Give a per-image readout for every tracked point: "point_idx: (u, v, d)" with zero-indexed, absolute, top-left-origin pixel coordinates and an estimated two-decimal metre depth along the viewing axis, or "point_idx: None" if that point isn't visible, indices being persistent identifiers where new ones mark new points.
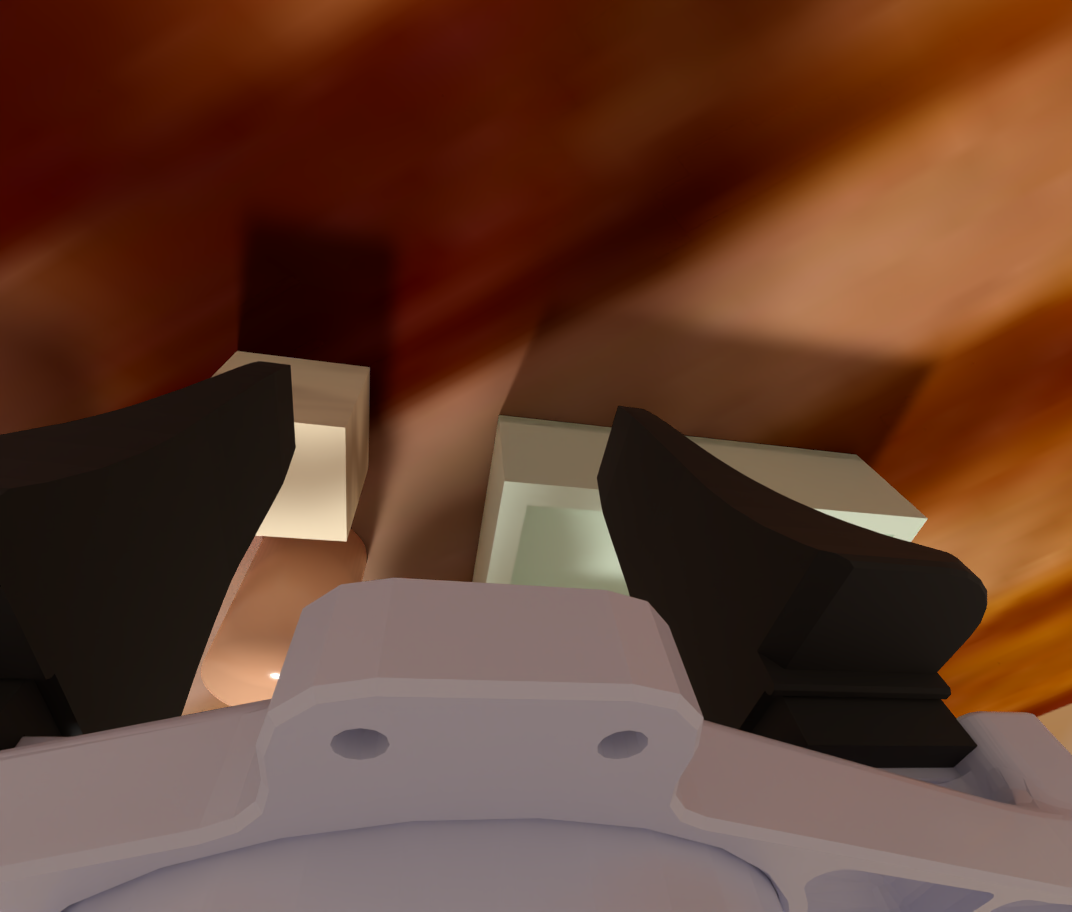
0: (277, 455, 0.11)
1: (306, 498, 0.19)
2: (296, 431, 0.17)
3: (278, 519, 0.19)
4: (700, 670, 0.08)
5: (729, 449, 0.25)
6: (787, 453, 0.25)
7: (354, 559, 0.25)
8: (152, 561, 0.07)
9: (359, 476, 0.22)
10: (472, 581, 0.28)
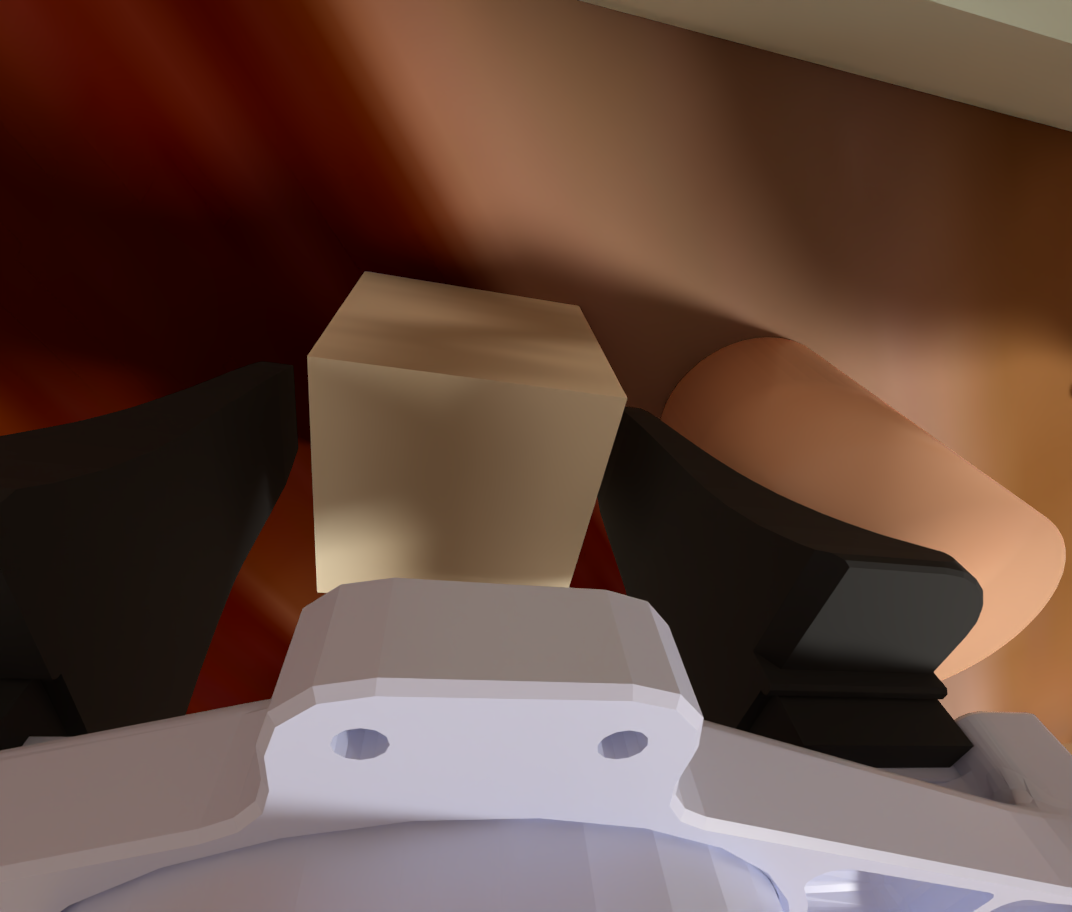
0: (280, 455, 0.11)
1: (500, 453, 0.09)
2: (332, 446, 0.09)
3: (550, 505, 0.10)
4: (696, 670, 0.08)
5: None
6: None
7: (758, 366, 0.13)
8: (156, 561, 0.07)
9: (541, 331, 0.11)
10: (948, 97, 0.11)
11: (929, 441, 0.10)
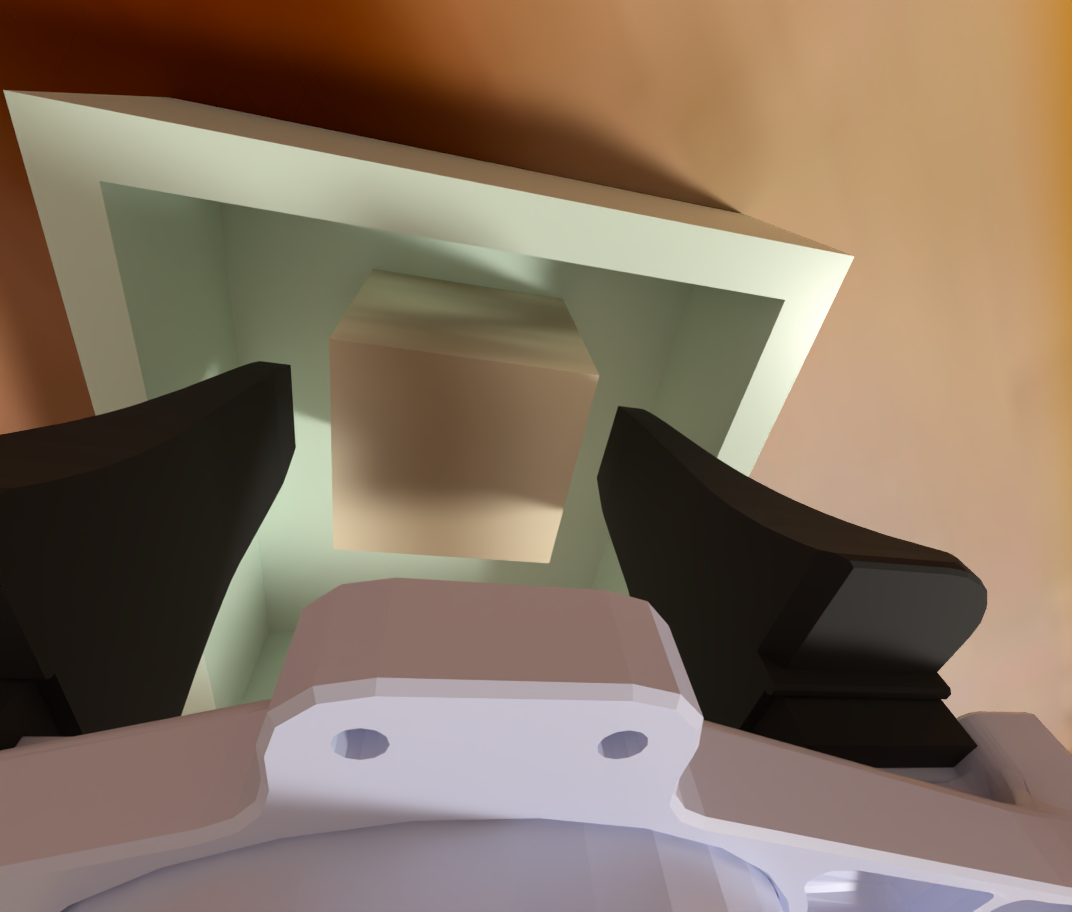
0: (277, 455, 0.11)
1: (491, 424, 0.11)
2: (348, 416, 0.10)
3: (535, 470, 0.11)
4: (700, 671, 0.08)
5: None
6: None
7: None
8: (152, 561, 0.07)
9: (528, 321, 0.12)
10: None
11: None
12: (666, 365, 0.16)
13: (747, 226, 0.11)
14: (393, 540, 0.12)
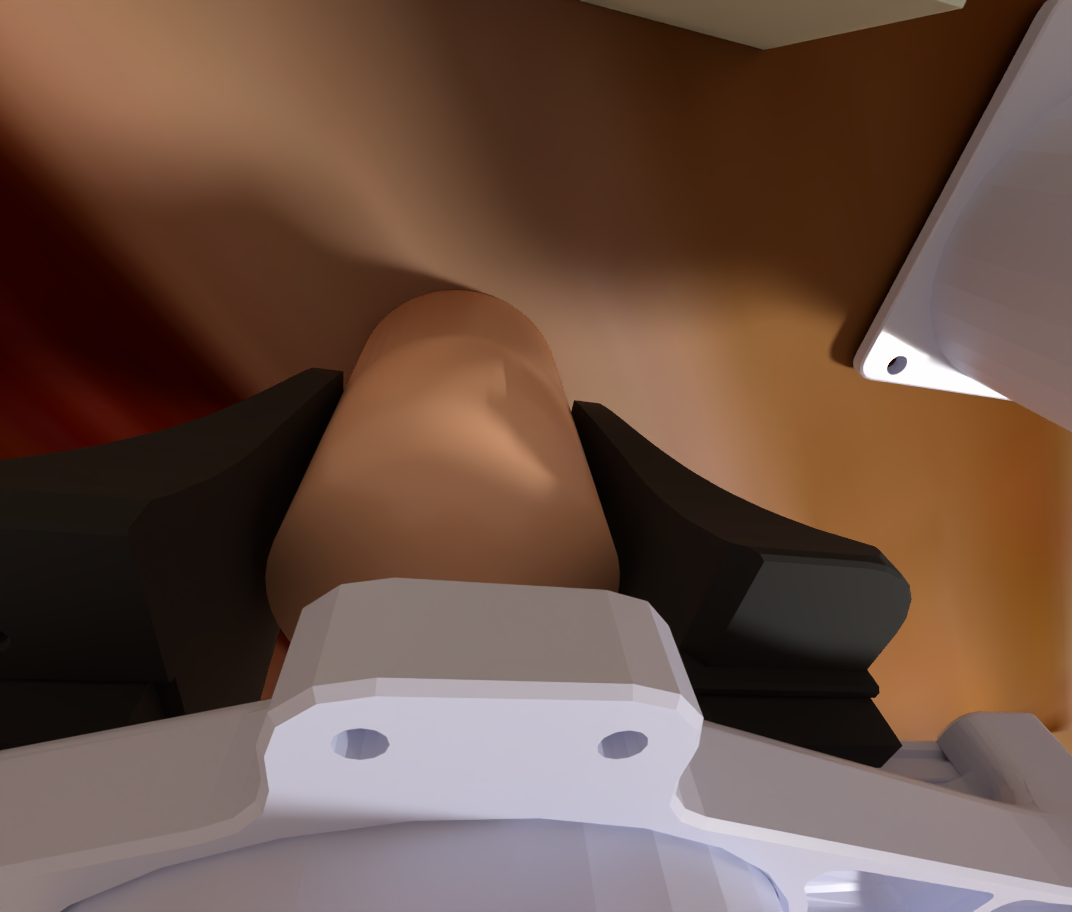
0: None
1: None
2: None
3: None
4: None
5: None
6: None
7: (404, 319, 0.11)
8: (241, 566, 0.07)
9: None
10: None
11: (481, 388, 0.08)
12: None
13: None
14: None
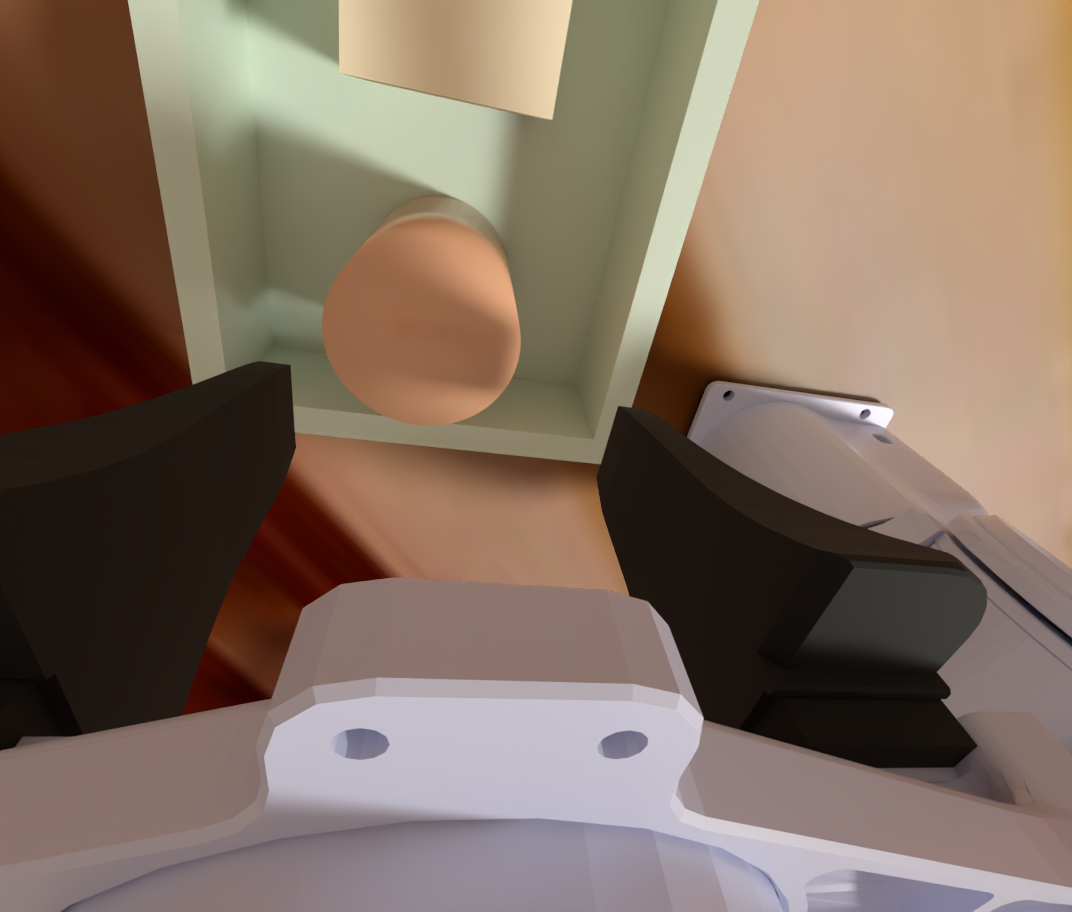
0: (277, 455, 0.11)
1: None
2: None
3: None
4: (700, 670, 0.08)
5: None
6: None
7: (400, 208, 0.17)
8: (152, 561, 0.07)
9: None
10: None
11: (441, 226, 0.14)
12: (667, 5, 0.16)
13: None
14: (398, 65, 0.12)
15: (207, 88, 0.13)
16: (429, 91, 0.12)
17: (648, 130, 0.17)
